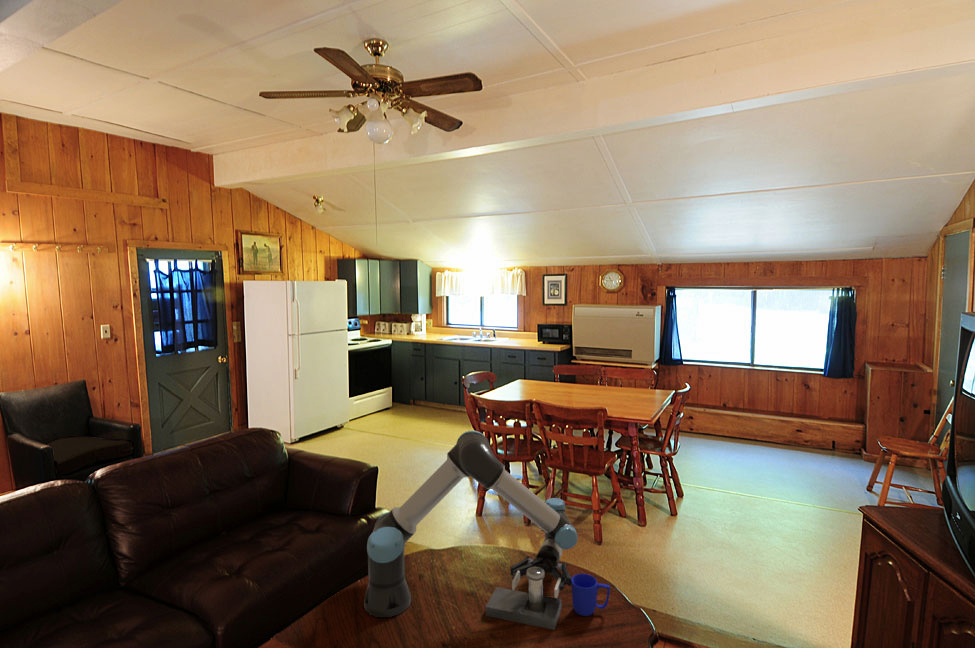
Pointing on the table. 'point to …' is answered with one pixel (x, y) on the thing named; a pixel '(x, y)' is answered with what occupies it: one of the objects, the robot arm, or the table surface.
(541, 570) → the silver metal peg
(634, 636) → the table surface
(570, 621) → the table surface
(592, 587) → the mug
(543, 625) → the jig
